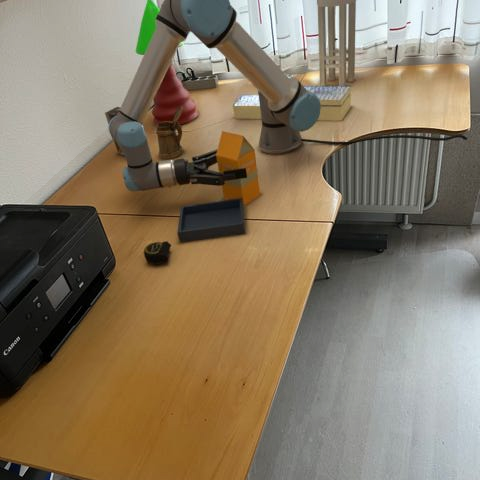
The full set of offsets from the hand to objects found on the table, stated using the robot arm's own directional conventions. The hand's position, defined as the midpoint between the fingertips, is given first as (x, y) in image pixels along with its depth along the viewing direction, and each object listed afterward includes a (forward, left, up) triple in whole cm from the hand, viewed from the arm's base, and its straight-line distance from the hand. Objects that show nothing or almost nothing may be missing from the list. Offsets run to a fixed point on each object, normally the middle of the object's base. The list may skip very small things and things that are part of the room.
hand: (246, 162), depth 143 cm
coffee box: (+46, -48, -11) cm, 67 cm away
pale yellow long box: (-19, -64, -11) cm, 68 cm away
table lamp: (+30, -78, -11) cm, 84 cm away
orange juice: (+3, 0, -11) cm, 11 cm away
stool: (-42, -90, -11) cm, 100 cm away
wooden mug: (+27, -40, -11) cm, 49 cm away
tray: (+12, +14, -11) cm, 21 cm away
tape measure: (+26, +28, -11) cm, 40 cm away
